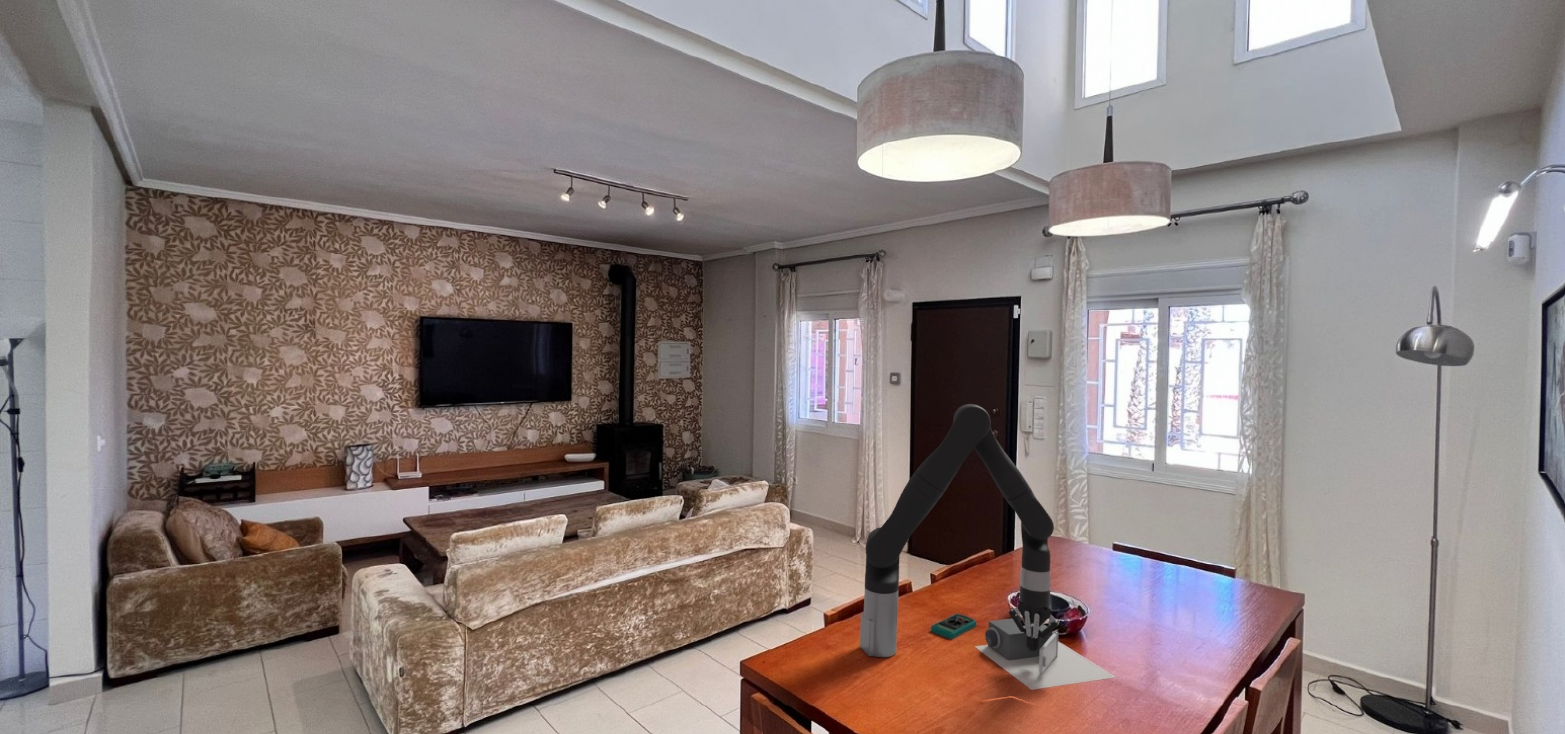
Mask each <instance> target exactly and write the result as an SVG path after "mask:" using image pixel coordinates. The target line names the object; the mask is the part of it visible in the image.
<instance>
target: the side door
mask: <svg viewBox="0 0 1565 734" xmlns="http://www.w3.org/2000/svg"><path fill="white" fill-rule="evenodd" d="M1058 641H1059V631H1056V630H1055V631H1054V630H1053V632H1052V636H1051V637H1050V638H1049V639H1048V640H1047V642H1046V643H1045V644H1044V645H1043V646H1042V647H1041V649H1040V654H1039V673H1043V672H1044V670H1045V669H1046V668H1047V667H1048V665H1049V664H1050V663H1051V662H1052V660H1053V659H1054V658H1055V656H1058Z"/></svg>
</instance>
